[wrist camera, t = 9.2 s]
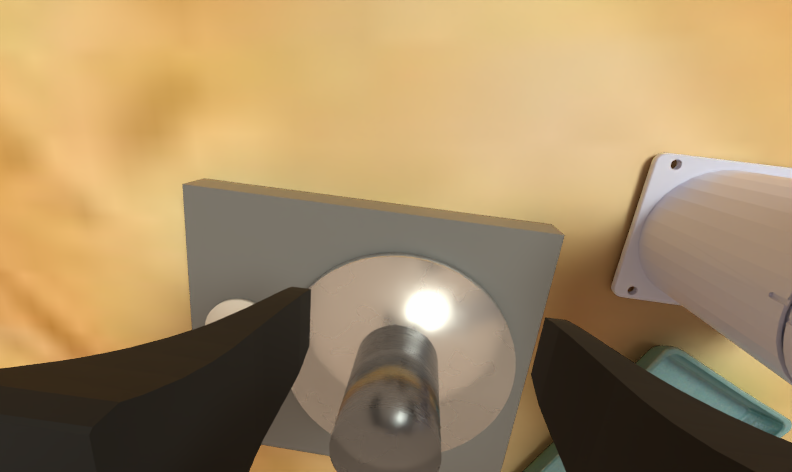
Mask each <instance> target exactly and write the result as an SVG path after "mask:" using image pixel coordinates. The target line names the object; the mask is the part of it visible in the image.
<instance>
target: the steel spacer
mask: <svg viewBox="0 0 792 472" xmlns="http://www.w3.org/2000/svg"><path fill="white" fill-rule="evenodd" d="M329 453H330V458H331V461H332V463H333V466H334V467H335V469H336V471H337V472H438V471H439V469H440V465H441V431H440V405H439V379H438V358H437V353H436V350H435V348H434V346H433V345H432V343H431V342H430V341H429V340H428V338H427V337H425V336H424V335H423V334H422V333H420V332H418V331H417V330H415V329H412V328H409V327H406V326H400V325H390V326H384V327H381V328H378V329H376V330H374V331H372V332H371V333H369V334H368V335H367V336H366V337H365V338H364V339H363V341H362V342H361V344H360V346H359V348H358V352H357V355H356V358H355V361H354V364H353V368H352V371H351V374H350V377H349V381H348V384H347V387H346V390H345V393H344V397H343V400H342V403H341V406H340V410H339V413H338V416H337V419H336V422H335V426H334V429H333V432H332V435H331V439H330V443H329Z"/></svg>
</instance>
